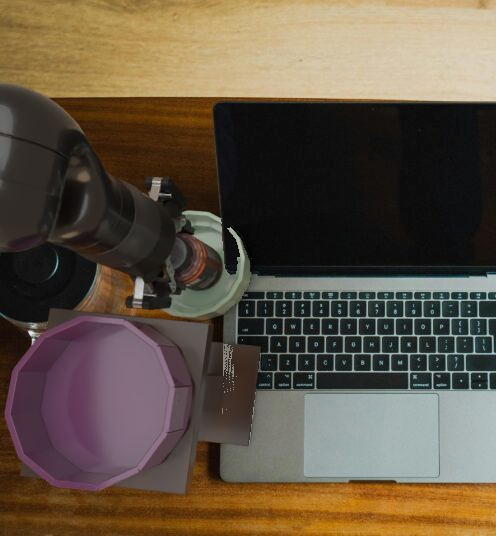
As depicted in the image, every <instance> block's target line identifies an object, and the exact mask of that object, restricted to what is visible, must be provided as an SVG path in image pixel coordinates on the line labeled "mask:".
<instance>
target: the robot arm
mask: <svg viewBox="0 0 496 536" xmlns="http://www.w3.org/2000/svg"><path fill="white" fill-rule="evenodd" d="M144 186H145V188H146V189H147V190H148V192H147V193H148V195H147V194H146V193H145V192H143V191H142V190H140V189H139V188H138V187H137V186H136V185H134V184H131V183H129V182H127V181H125V180H122V179H120V178H118V177H116V176H115V175H113V173H111V172H109V171H108V170H107V169H105V167H104V165H103V163H102V161H101V159H100V158H99V156H98V154H97V152H96V151H95V149H94V147H93V146H92V144H91V143H90V140H89V138H88V136H87V135H86V133H84V131H83V129H82V128H81V125H79V123H78V122H77V121H76V120H75V119H74V117H72V116H71V114H70V113H68V111H67V110H65V108H63V107H62V106H60V104H58V103H57V102H55V101H54V100H52V99H51V98H50V97H48V96H46V95H44V94H42V93H40V92H39V91H37V90H34V89H32V88H29V87H27V86H24V85H22V84H21V85H20V84H17V83H12V82H2V81H0V252H2V253H18V252H24V251H28V250H32V249H35V248H38V247H39V246H42V245H43V244H45V243H46V242H48V243H50V244H52V245H55V246H57V247H61V248H63V249H66V250H69V251H71V252H73V253H75V254H77V255H79V256H80V257H82V258H84V259H85V260H88V261H90V262H92V263H95V264H98V265H101V266H104V267H107V268H109V269H112V270H114V271H118V272H120V273H123V274H126V275H128V276H129V278H130V280H131V281H132V283H134V290H133V291H132V293H131V295H127V296H126V298H125V301H124V305H125V308H126V309H134V310H143V311H144V310H145V311H156V310H161V309H166V308H170V307H171V304H172V299H171V297H169V295H170V294H171V295H181V292H182V290H186V286H187V284H184V283H182V282H180V281H177V280H174V278H173V276H174V274H175V270H174V268H173V266H172V264H171V261H170V257H171V256H170V254H171V252H172V250H173V248H174V245H175V240H176V233H177V232H183V233H187V234H190V235H194V231H195V229H194V228H193V227H191V225H192V224H191V222H190V221H189V220H188V219H186V215H184V214H182V212H183V209H186V207H187V204H188V201H187V198H186V196H185V195H184V193H183V192H182V191H181V189H179V187H178V186H177V184H176V183H175V182H174V181H173V179H172V178H171V177H160V176H148V175H147V176H146V177H145V179H144ZM148 285H149V287H150V289H151V290H153V292H152V293H151V290H150V289H149V288H148Z"/></svg>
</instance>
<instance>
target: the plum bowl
mask: <svg viewBox="0 0 496 536" xmlns="http://www.w3.org/2000/svg"><path fill="white" fill-rule="evenodd" d="M5 403H6V404H5V409H4V419H5V423H6V426H7V428H8V431H9V434H10V437H11V439H12V443H13V446H14V449H15V452H16V455H17V457H18V460H20V461H21V462H22V461H23V462H24V463H25V464H27V465H28V466H29V467H30V468H31V469H33V470H34V471H35V472H36V473H37V474H39V475H40V476H41V477H42V478H41V479H43V480H44V481H46V482H47V483H48V484H49V485H51V486H52V487H57V488H66V489H73V490H82V491H89V492H90V491H92V492H98V491H102V490H105V489H107V488H110V487H113V486H112V485H115V484H118V483H120V482H123V481H125V480H127V479H129V478H131V477H134V476H136V475H138V474H140V473H143V472H145V471H147V470H149V469H151V468H153V467H155V466H158V465H159V464H161V463H162V461H163V460H164V459H165V457H166V456H167V455H168V454H169V453H170V451H171V450H172V449H173V448H174V447H175V445H176V444H177V442H178V441H179V439H180V438H181V436H182V434H183V433H184V431H185V430H186V429H185V428H187V422H188V419H189V415H190V411H191V404H192V383H191V380H190V375H189V372H188V369H187V366H186V364H185V362H184V359H183V357H182V356H181V354H180V352H179V349H178V348H177V346H175V345H174V344H173V343H172V342H171V341H169V340H168V339H167V338H166V337H165V336H164V335H162V334H161V333H159V332H158V331H156V330H154V329H153V328H152V327H150V326H149V325H148V324H146V323H143V322H138V321H133V320H128V319H121V318H111V317H101V316H90V315H81V316H79V317H76V318H74V319H72V320H70V321H67V322H65V323H63V324H61V325H58V326H56V327H54V328H52V329H50V330H47V331H46V330H45V331H43V332H42V333H40V334H39V335H38V336H37V338H36V339H35V340H34V341H33V342H32V344H31V346H30V347H29V348H28V349H27V351H25V353H24V354H23V356H22V357H21V358H20V360H19V361H18V362H17V364H16V365H15V366H14V367H13V370H12V371H11V377H10V382H9V388H8V393H7V398H6V402H5Z"/></svg>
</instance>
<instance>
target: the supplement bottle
mask: <svg viewBox="0 0 496 536" xmlns="http://www.w3.org/2000/svg"><path fill="white" fill-rule="evenodd" d="M170 256H171V257H170V261H171V264H172V266H173V268H174V270H175V274H174V276H173V278H174V280H177V281H180V282H182V283H184V284H187V286H186V288H188V289H191V290H195V291H203V290H207V289H209V288H211V287H213V286H214V285H215V284H216V283H217V282H218V281H219V279H220V277H221V275H222V271H223V262H222V259H221V257H220V255H219V254H218V252H217V251H216V250H215V249H213V248H212V247H210V246H209V245H207V244H205V243H204V242H202V241H200V240H199V239H197V238H196V237H194V236H192V235H190V234H187V233H183V232H177V233H176V240H175V245H174V248H173V250H172V252H171V254H170Z"/></svg>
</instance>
